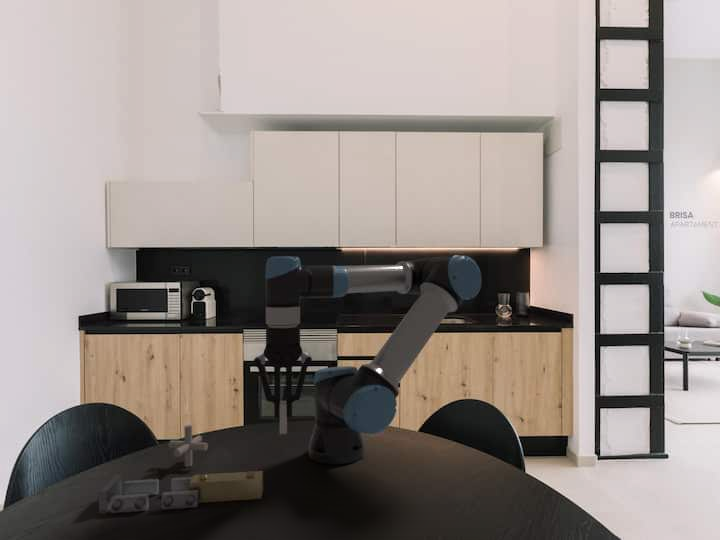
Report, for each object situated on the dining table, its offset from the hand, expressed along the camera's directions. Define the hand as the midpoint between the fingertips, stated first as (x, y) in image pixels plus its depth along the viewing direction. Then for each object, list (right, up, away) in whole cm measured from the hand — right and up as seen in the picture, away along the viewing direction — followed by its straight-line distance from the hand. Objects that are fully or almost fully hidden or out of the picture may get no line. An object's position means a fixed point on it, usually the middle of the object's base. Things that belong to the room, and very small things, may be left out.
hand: (283, 431), depth 101 cm
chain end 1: (-32, -14, -4) cm, 35 cm away
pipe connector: (-27, -14, +15) cm, 34 cm away
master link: (-12, -14, -2) cm, 18 cm away
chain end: (-21, -14, -3) cm, 25 cm away
